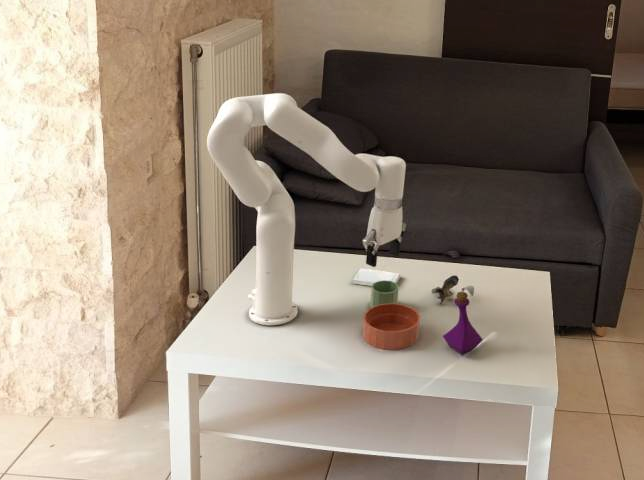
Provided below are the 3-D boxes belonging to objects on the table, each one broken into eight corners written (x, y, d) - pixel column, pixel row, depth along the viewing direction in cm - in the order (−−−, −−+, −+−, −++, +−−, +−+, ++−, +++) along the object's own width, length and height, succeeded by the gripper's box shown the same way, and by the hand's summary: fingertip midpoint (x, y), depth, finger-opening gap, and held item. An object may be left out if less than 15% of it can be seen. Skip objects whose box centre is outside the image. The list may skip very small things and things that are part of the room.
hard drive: (352, 279, 217) (393, 284, 216) (361, 267, 225) (400, 272, 224) (352, 284, 218) (393, 289, 217) (360, 272, 226) (399, 277, 224)
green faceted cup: (364, 308, 205) (366, 287, 203) (382, 298, 211) (383, 277, 210) (385, 317, 201) (386, 295, 200) (402, 307, 207) (404, 286, 206)
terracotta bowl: (350, 337, 189) (351, 318, 188) (387, 315, 202) (388, 297, 201) (394, 358, 182) (395, 338, 181) (429, 334, 195) (430, 315, 193)
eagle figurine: (460, 303, 210) (464, 284, 218) (447, 285, 208) (452, 266, 216) (437, 312, 212) (442, 293, 220) (425, 294, 210) (430, 275, 218)
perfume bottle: (441, 347, 189) (446, 284, 185) (462, 338, 194) (468, 276, 190) (460, 360, 184) (466, 295, 180) (482, 351, 189) (488, 287, 185)
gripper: (397, 191, 208) (392, 246, 211) (356, 205, 193) (351, 265, 197) (418, 198, 204) (412, 254, 208) (378, 213, 190) (372, 274, 193)
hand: (382, 259), depth 202 cm, fingers open, 9 cm apart
